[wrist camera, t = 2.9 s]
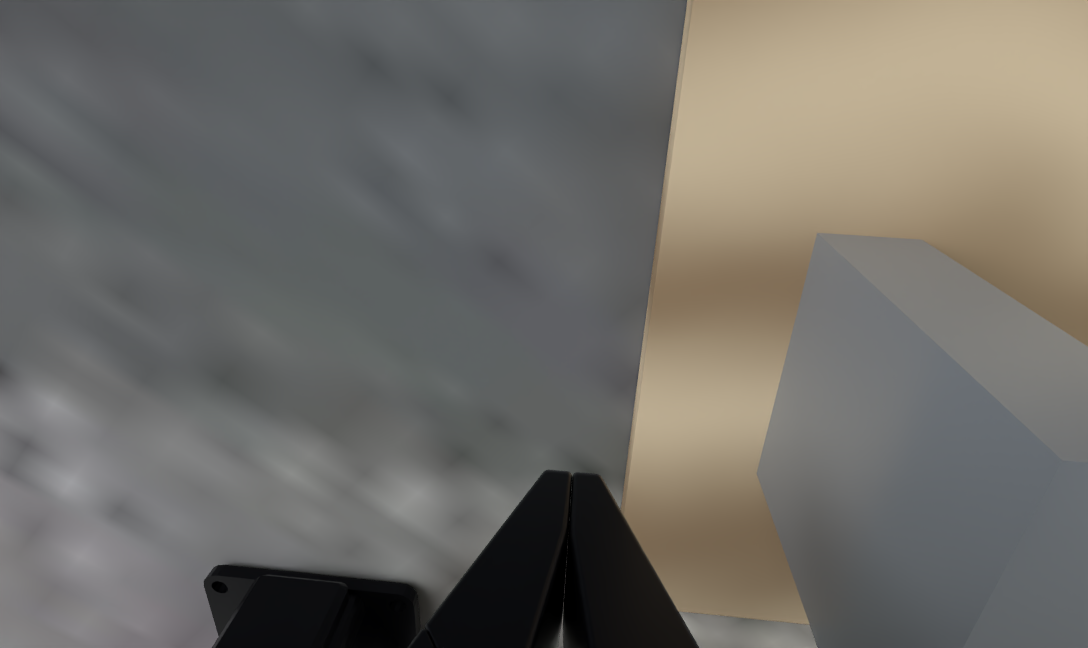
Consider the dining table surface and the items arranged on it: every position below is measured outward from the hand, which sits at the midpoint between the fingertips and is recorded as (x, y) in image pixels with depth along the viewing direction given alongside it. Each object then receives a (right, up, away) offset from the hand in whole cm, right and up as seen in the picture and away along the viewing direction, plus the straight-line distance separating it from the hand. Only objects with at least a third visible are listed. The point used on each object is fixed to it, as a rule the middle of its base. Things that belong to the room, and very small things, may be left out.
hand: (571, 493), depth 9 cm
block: (+6, +2, +4) cm, 7 cm away
